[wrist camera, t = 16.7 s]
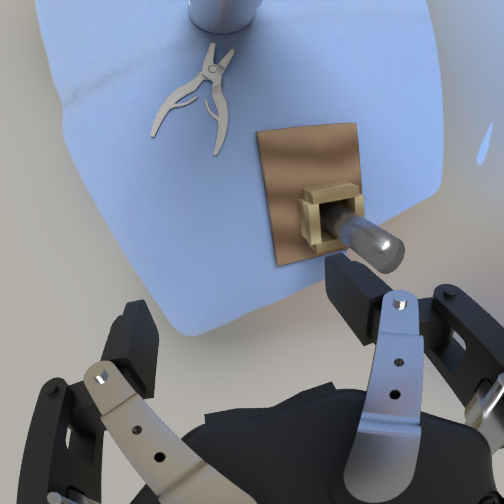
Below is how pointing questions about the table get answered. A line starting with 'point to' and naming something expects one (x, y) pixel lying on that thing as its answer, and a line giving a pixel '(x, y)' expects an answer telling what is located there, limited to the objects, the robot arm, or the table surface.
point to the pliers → (214, 75)
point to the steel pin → (362, 237)
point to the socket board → (308, 185)
